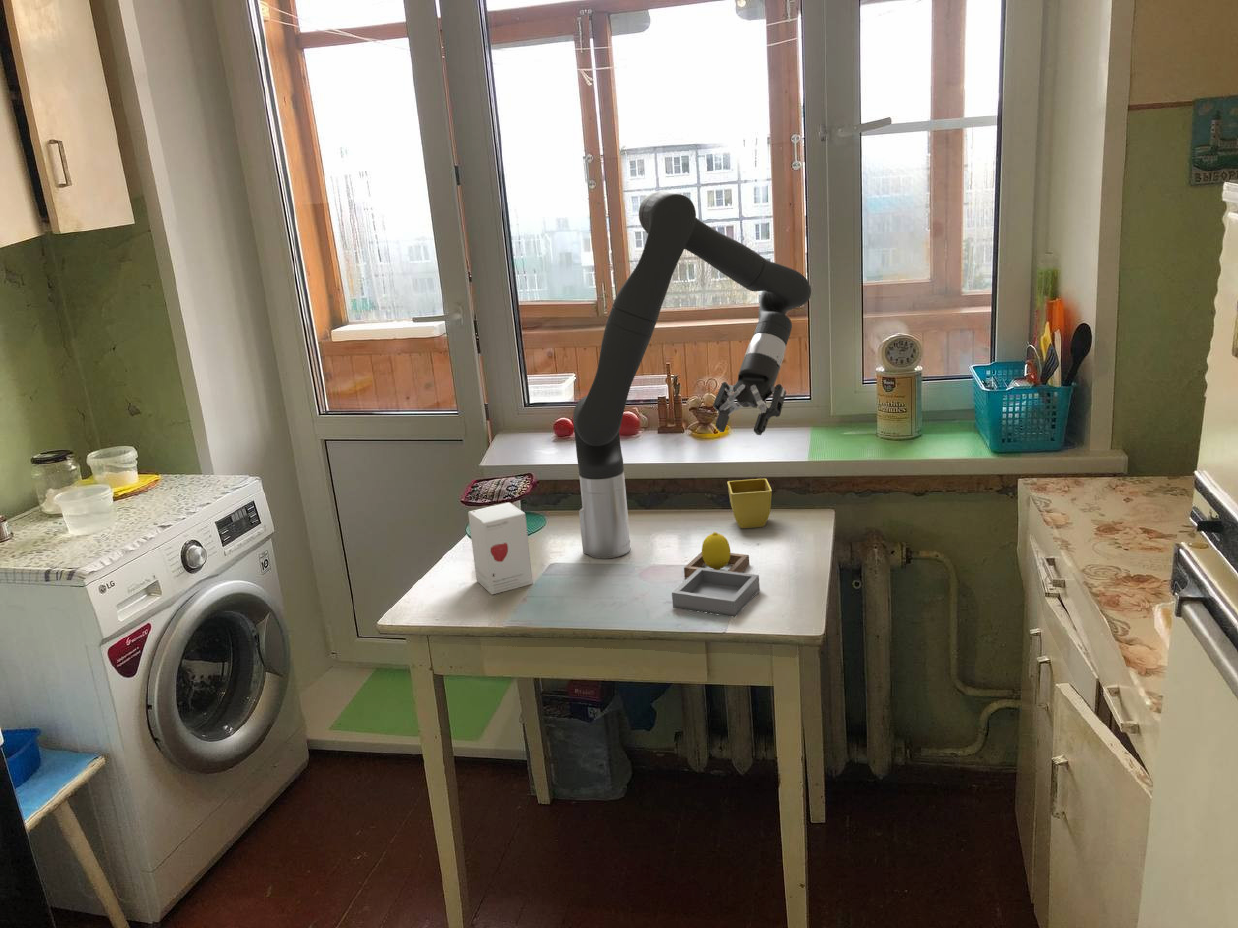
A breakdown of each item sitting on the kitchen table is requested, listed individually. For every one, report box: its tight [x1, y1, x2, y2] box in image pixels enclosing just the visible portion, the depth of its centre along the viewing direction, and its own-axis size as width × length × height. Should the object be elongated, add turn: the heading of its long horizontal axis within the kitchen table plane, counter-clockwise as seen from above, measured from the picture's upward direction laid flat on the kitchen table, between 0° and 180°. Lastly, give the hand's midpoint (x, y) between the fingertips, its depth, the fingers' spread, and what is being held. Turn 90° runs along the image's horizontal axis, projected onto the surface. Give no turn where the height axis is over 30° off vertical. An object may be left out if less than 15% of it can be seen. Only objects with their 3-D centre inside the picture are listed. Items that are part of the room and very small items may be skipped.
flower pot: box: [727, 478, 773, 529], centre depth 210 cm, size 9×9×9 cm
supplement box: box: [467, 502, 534, 596], centre depth 189 cm, size 9×9×15 cm
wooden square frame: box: [683, 551, 750, 579], centre depth 187 cm, size 10×10×2 cm
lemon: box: [701, 531, 732, 570], centre depth 187 cm, size 6×6×8 cm
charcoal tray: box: [671, 567, 760, 618], centre depth 175 cm, size 12×12×3 cm
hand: (738, 431), depth 189 cm, fingers open, 8 cm apart
